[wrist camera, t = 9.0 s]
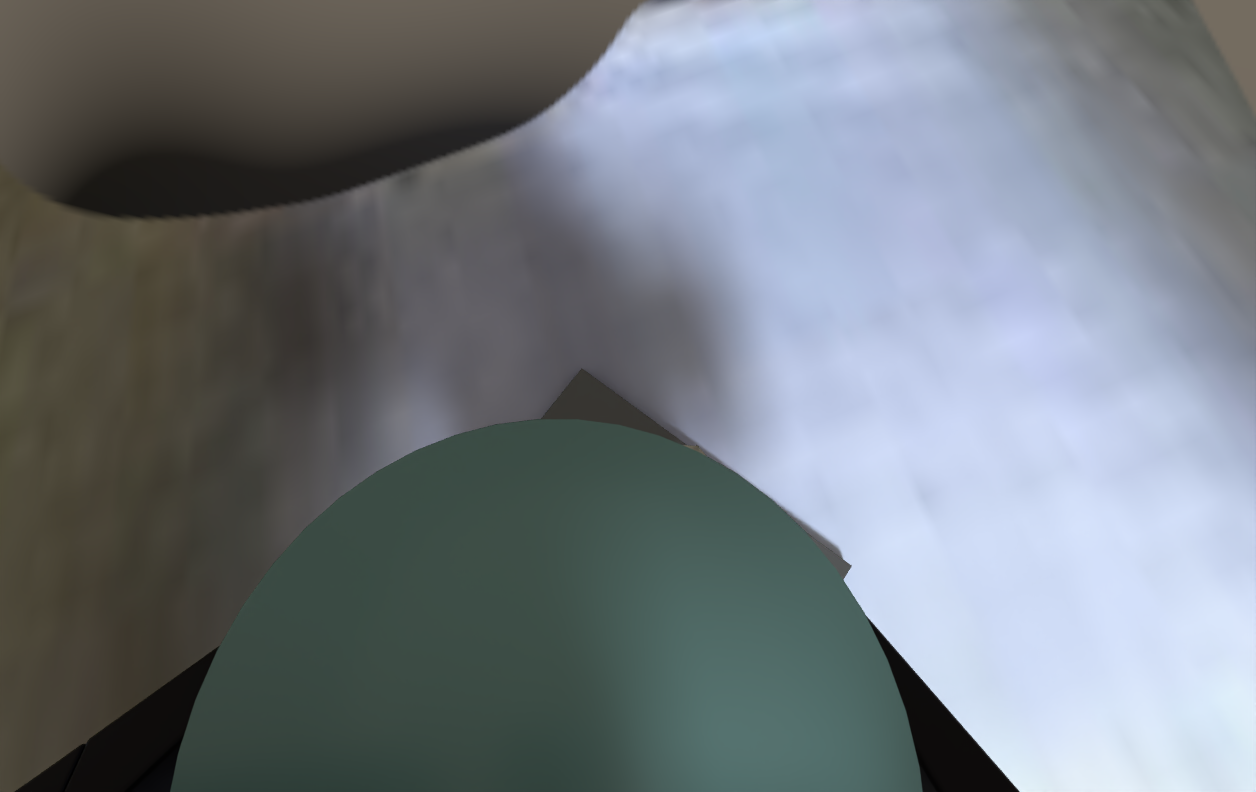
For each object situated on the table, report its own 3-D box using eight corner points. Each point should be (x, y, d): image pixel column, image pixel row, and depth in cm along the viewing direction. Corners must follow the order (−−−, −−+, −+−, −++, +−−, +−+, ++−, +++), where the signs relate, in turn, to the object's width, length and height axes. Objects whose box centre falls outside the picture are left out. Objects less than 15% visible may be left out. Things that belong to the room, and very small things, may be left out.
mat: (845, 564, 17) (851, 566, 16) (645, 885, 15) (645, 898, 14) (583, 372, 19) (581, 368, 18) (373, 632, 17) (365, 636, 16)
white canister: (717, 732, 15) (967, 1407, 4) (485, 711, 16) (39, 1275, 4) (723, 492, 17) (899, 441, 6) (515, 477, 17) (272, 399, 6)
